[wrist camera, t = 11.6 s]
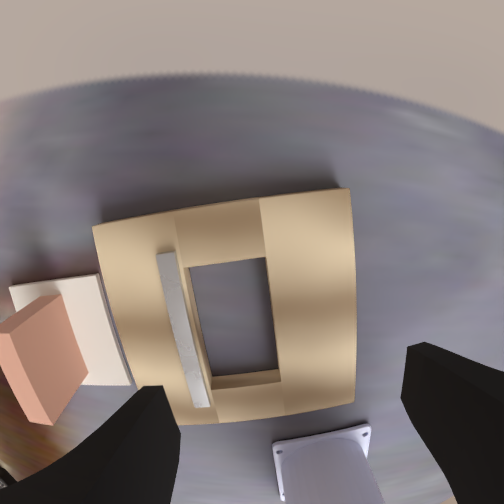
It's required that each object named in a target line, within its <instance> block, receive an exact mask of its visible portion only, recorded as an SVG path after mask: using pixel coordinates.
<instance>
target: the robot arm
mask: <svg viewBox="0 0 504 504" xmlns="http://www.w3.org/2000/svg"><path fill="white" fill-rule="evenodd" d="M401 400H402V403H403V405H404V407H405V409H406V412H407V414H408V416H409V418H410V420H411V422H412V424H413V426H414V427H415V429H416V430H417V432H418V434H419V435H420V437H421V438H422V440H423V441H424V443H425V445H426V446H427V448H428V449H429V451H430V452H431V454H432V455H433V457H434V458H435V460H436V462H437V463H438V465H439V466H440V468H441V470H442V471H443V473H444V475H445V477H446V478H447V480H448V482H449V485H450V487H451V489H452V492H453V494H454V496H455V498H456V501H457V503H458V504H504V372H503V371H500V370H496V369H494V368H491V367H488V366H485V365H483V364H480V363H477V362H475V361H472V360H470V359H467V358H465V357H462V356H460V355H458V354H455V353H453V352H450V351H448V350H445V349H443V348H440V347H438V346H435V345H432V344H429V343H426V342H422V343H419V344H415V345H412V346H408V347H407V355H406V363H405V371H404V378H403V385H402V392H401ZM365 432H366V433H365ZM370 435H371V426H370V424H362V425H358V426H354V427H350V428H346V429H342V430H338V431H333V432H328V433H324V434H319V435H314V436H308V437H303V438H297V439H291V440H284V441H278V442H275V443H273V445H272V449H273V456H274V462H275V468H276V474H277V480H278V486H279V493H280V499H281V500H282V501H285V503H286V504H385V501H384V499H383V497H382V494H381V492H380V489H379V487H378V485H377V482H376V480H375V477H374V475H373V473H372V470H371V468H370V466H369V463H368V461H367V454H368V448H369V441H370ZM180 439H181V433H180V430H179V428H178V425H177V423H176V420H175V418H174V415H173V412H172V410H171V407H170V404H169V401H168V398H167V396H166V393H165V390H164V387H163V385H156V386H143V387H142V388H141V389H139V390H138V391H137V392H136V393H135V394H134V395H133V396H132V397H131V398H130V399H129V400H128V401H127V402H126V403H125V404H124V405H123V406H122V407H121V408H120V409H118V410H117V411H116V412H115V413H114V414H113V415H112V416H111V417H110V418H109V419H108V420H107V421H106V422H105V423H104V424H103V425H101V426H100V427H99V428H98V429H97V430H96V431H95V432H93V433H92V434H91V435H90V436H89V437H87V438H86V439H85V440H84V441H83V442H81V443H80V444H79V445H78V446H77V447H75V448H74V449H73V450H71V451H70V452H69V453H67V454H66V455H64V456H63V457H62V458H60V459H58V460H57V461H55V462H54V463H52V464H51V465H49V466H48V467H46V468H44V469H43V470H41V471H39V472H37V473H35V474H33V475H31V476H29V477H27V478H25V479H23V480H21V481H19V482H17V483H15V484H12V485H10V486H7V487H5V488H2V489H0V504H170V502H171V497H172V492H173V488H174V483H175V478H176V473H177V469H178V464H179V454H180ZM278 450H280V451H278Z"/></svg>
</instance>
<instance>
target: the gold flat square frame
mask: <svg viewBox="0 0 504 504" xmlns="http://www.w3.org/2000/svg"><path fill="white" fill-rule="evenodd" d="M92 230H93V235H94V240H95V245H96V250H97V254H98V259H99V263H100V268H101V272H102V276H103V280H104V284H105V288H106V292H107V295H108V299H109V303H110V306H111V310H112V313H113V317H114V320H115V323H116V327H117V330H118V333H119V336H120V339H121V343H122V346H123V349H124V352H125V355H126V357H127V360H128V363H129V366H130V369H131V372H132V374H133V377H134V380H135V382H136V385H137V388H138V390H139V389H141V388H142V387H143V386H156V385H163V387H164V390H165V393H166V396H167V398H168V401H169V404H170V407H171V410H172V412H173V415H174V418H175V420H176V423H177V425H197V424H214V423H227V422H238V421H248V420H257V419H265V418H272V417H279V416H286V415H292V414H298V413H304V412H309V411H315V410H320V409H325V408H330V407H334V406H339V405H343V404H348V403H352V402H354V398H355V378H356V341H357V310H356V272H355V251H354V235H353V221H352V209H351V198H350V188H332V189H322V190H313V191H304V192H295V193H287V194H279V195H271V196H263V197H256V198H248V199H241V200H234V201H227V202H220V203H213V204H207V205H200V206H194V207H188V208H181V209H175V210H169V211H164V212H158V213H152V214H146V215H141V216H135V217H130V218H125V219H119V220H114V221H109V222H104V223H100V224H98V225H95V226H92ZM260 257H265V261H266V269H267V277H268V285H269V293H270V301H271V309H272V317H273V325H274V333H275V342H276V350H277V358H278V367H279V369H274V370H267V371H259V372H252V373H244V374H235V375H226V376H216V377H212V373H211V369H210V365H209V361H208V356H207V352H206V348H205V343H204V339H203V335H202V330H201V325H200V321H199V316H198V311H197V307H196V302H195V297H194V292H193V287H192V282H191V277H190V271H189V267H194V266H202V265H209V264H216V263H224V262H231V261H238V260H245V259H252V258H260Z"/></svg>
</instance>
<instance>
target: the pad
mask: <svg viewBox="0 0 504 504" xmlns="http://www.w3.org/2000/svg"><path fill="white" fill-rule="evenodd" d="M9 290H10V293H11V296H12V300H13V303H14V306H15V309H16V312H18V311H19V310H21V309H22V308H24V307H25V306H27V305H28V304H29V303H31V302H32V301H34V300H35V299H37V298H38V297H40V296H49V295H58V294H62V297H63V301H64V304H65V307H66V311H67V314H68V317H69V320H70V323H71V326H72V329H73V332H74V335H75V338H76V341H77V344H78V346H79V349H80V352H81V354H82V357H83V360H84V362H85V365H86V367H87V370H88V372H89V373H88V375H87V376H86V378H85V379H84V380H83V382H82V383H81V385H131V383H132V379H131V376H130V374H129V371H128V368H127V365H126V363H125V360H124V357H123V354H122V351H121V348H120V345H119V342H118V339H117V336H116V333H115V329H114V326H113V323H112V320H111V316H110V313H109V309H108V306H107V302H106V299H105V295H104V291H103V287H102V284H101V280H100V276H99V273H97V274H90V275H83V276H76V277H68V278H61V279H54V280H47V281H40V282H32V283H25V284H18V285H12V286H10V287H9Z"/></svg>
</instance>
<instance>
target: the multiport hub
mask: <svg viewBox="0 0 504 504" xmlns="http://www.w3.org/2000/svg"><path fill="white" fill-rule="evenodd" d="M15 483H17V481H16V480H15V479H14V478H13V477H12V476H11V475H10V474H9V473H8V472H7V471H6V470H5V469H3V468H0V489H2V488H5V487H7V486H10V485H12V484H15Z"/></svg>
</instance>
